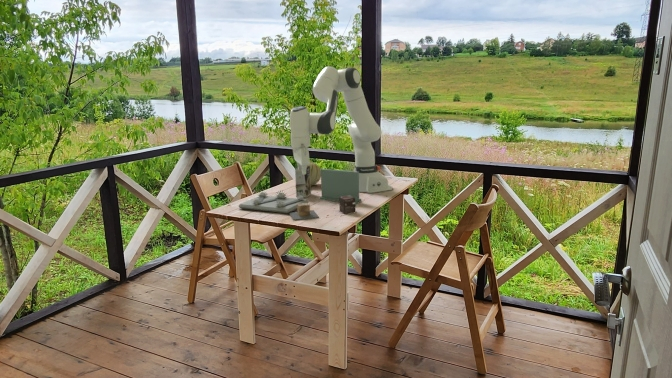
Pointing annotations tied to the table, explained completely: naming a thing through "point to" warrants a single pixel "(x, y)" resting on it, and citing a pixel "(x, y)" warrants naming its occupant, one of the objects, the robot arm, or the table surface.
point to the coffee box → (303, 183)
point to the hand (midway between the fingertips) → (302, 172)
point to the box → (347, 204)
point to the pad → (297, 217)
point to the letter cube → (303, 209)
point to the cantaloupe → (314, 173)
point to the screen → (339, 184)
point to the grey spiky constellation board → (273, 203)
